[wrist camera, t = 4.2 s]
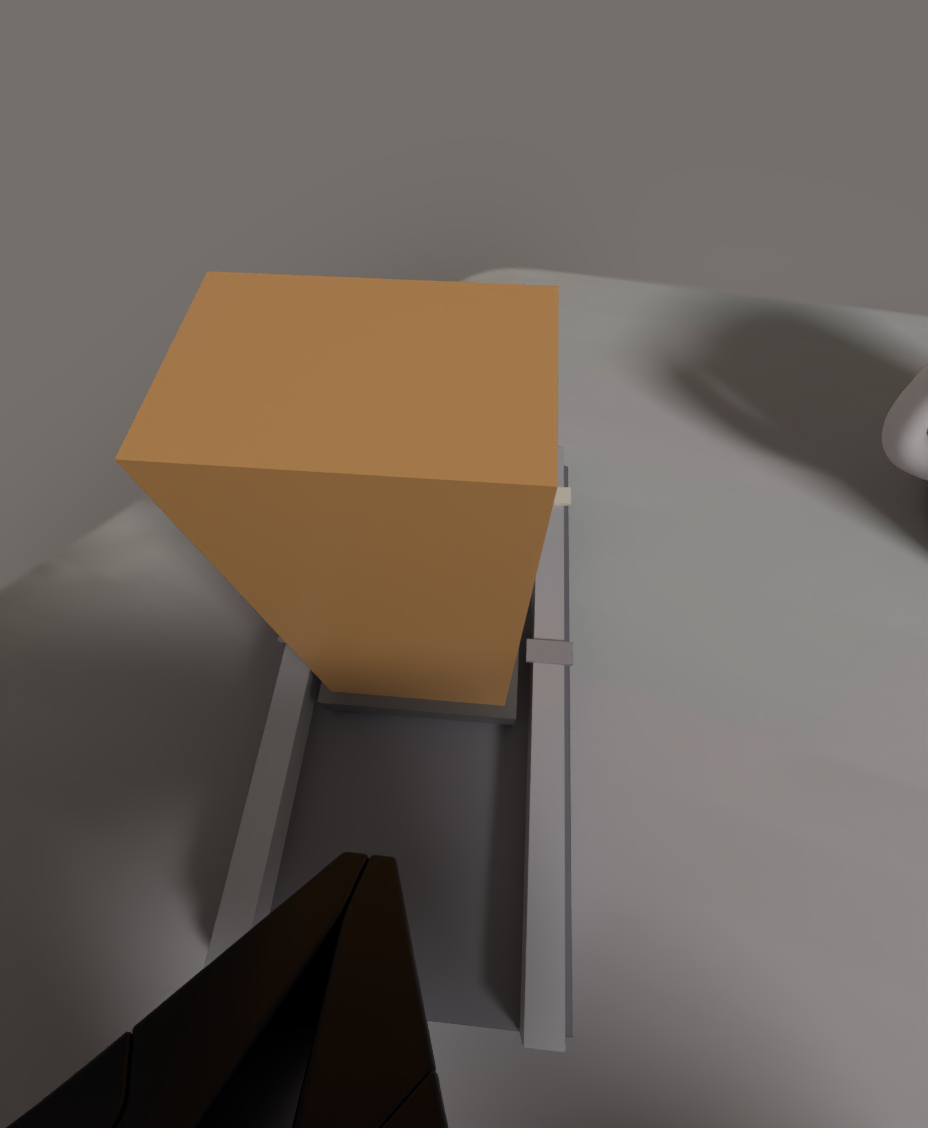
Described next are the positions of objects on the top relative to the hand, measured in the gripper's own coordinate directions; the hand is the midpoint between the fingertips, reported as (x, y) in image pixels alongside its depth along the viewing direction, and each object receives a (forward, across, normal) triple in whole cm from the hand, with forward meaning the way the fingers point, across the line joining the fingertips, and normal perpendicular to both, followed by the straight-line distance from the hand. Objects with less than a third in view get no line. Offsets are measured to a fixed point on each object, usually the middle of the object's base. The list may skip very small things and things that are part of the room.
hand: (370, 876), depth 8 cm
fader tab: (+7, 0, 0) cm, 7 cm away
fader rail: (+8, 0, -1) cm, 8 cm away
